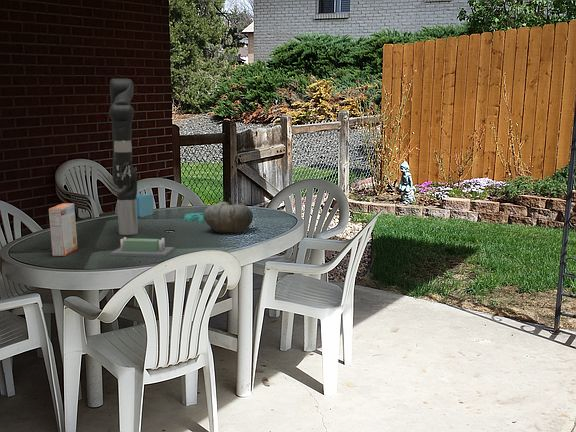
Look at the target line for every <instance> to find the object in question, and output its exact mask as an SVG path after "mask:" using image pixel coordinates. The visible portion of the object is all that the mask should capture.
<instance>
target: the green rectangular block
mask: <svg viewBox="0 0 576 432" xmlns="http://www.w3.org/2000/svg"><path fill="white" fill-rule="evenodd" d="M159 240H160V238H133V237H132V238H130V237H129V238H126V240H125V241H124V240H123V243H124V245H125V251H146V252H156V251H158V250H159Z"/></svg>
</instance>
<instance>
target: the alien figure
mask: <svg viewBox="0 0 576 432" xmlns="http://www.w3.org/2000/svg"><path fill="white" fill-rule="evenodd" d="M203 213H204V212H191V213H185V214H184V217H183V221H184V220H187V221H186V222H193V221H192V220H194V221H197V223H198V222H200V223H199V224H203V223H202V222H204V223H205V220H204V216H203ZM197 219H198V220H197Z"/></svg>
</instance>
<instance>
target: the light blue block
mask: <svg viewBox="0 0 576 432" xmlns="http://www.w3.org/2000/svg"><path fill="white" fill-rule="evenodd" d="M136 201H137V218H145V216H146V217H149V216H148V215H150V216H153V215H152V214H154V213H155V211H154V196H153V194H152V193H151V194H150V193H143V194H137V195H136Z"/></svg>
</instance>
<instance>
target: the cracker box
mask: <svg viewBox="0 0 576 432" xmlns="http://www.w3.org/2000/svg"><path fill="white" fill-rule="evenodd" d="M75 209H76V208H75V203H74V202H73V203H69V202H68V203H67V202H64V203H60V204H57V205H55V206H53V207H49V208H48V218H49V229H50V241H51V242H50V243H51V253H52V254H51V256H52V257H66V256H67V255H70V254H71V253H73V252H74V251H76V250H78V238H77V237H78V236H77V224H76V212H75V211H76V210H75Z"/></svg>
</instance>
